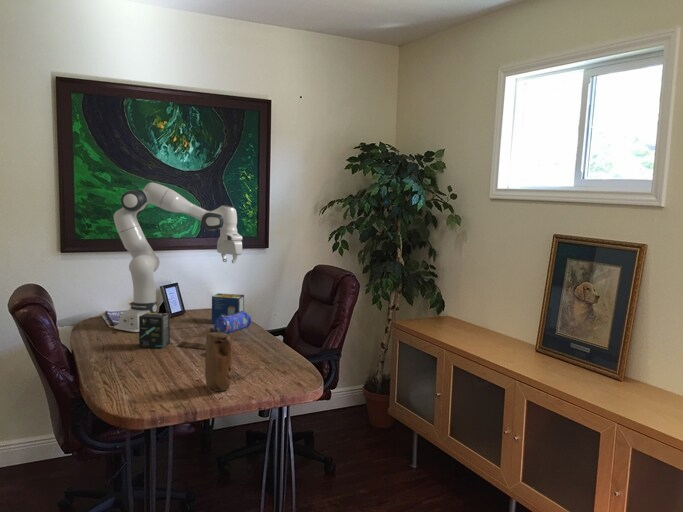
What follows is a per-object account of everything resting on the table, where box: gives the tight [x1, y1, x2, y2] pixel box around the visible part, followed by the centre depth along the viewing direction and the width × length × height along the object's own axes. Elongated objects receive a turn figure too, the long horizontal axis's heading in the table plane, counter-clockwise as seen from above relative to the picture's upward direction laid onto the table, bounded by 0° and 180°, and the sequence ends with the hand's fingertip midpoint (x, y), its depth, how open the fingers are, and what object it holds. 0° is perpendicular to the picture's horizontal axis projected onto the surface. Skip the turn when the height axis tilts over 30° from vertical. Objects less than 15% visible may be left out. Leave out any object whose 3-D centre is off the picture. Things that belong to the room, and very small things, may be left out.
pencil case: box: [213, 310, 252, 334], centre depth 290 cm, size 22×9×10 cm, turn 151°
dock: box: [180, 327, 242, 350], centre depth 269 cm, size 16×29×2 cm, turn 166°
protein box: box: [210, 293, 245, 325], centre depth 307 cm, size 10×15×16 cm
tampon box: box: [138, 312, 171, 349], centre depth 256 cm, size 11×9×15 cm
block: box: [204, 331, 233, 392], centre depth 203 cm, size 11×8×20 cm
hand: (229, 262), depth 293 cm, fingers open, 8 cm apart
